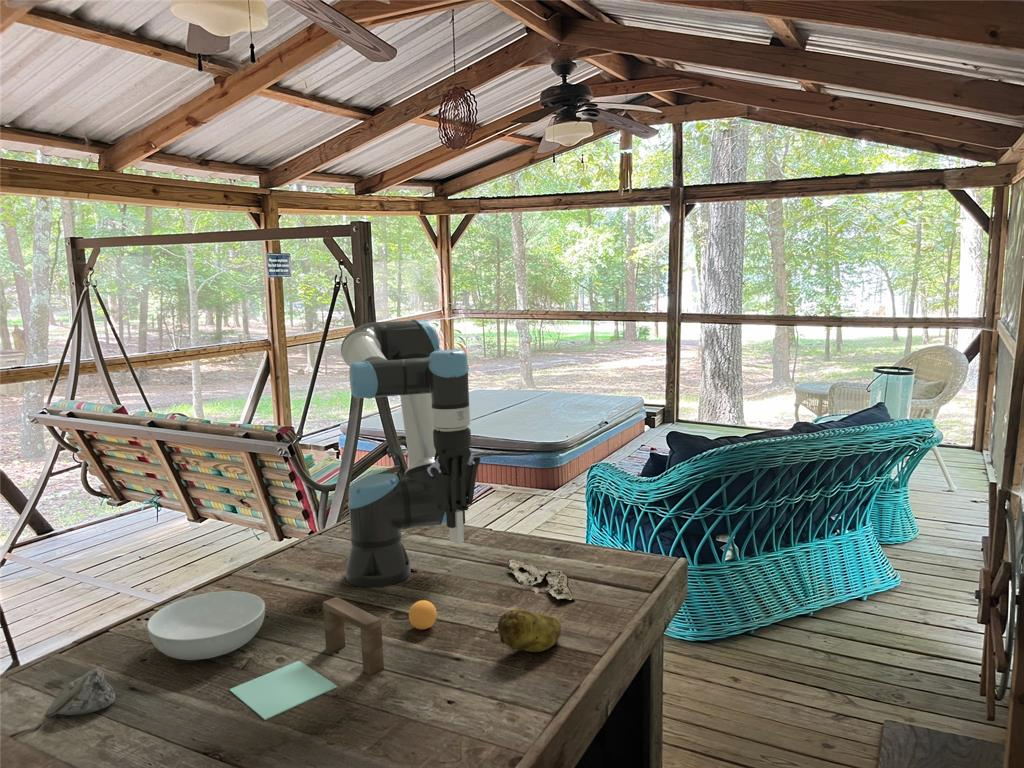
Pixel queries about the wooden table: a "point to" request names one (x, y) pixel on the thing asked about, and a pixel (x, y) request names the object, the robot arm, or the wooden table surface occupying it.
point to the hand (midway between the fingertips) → (456, 541)
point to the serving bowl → (206, 624)
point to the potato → (528, 630)
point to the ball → (422, 614)
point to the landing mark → (282, 689)
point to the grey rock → (83, 695)
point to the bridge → (368, 624)
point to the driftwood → (555, 578)
